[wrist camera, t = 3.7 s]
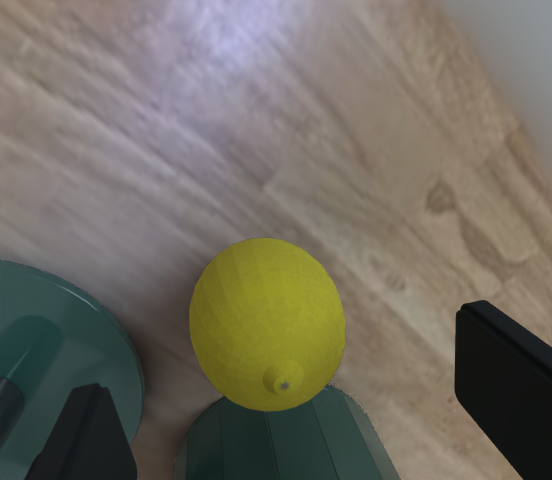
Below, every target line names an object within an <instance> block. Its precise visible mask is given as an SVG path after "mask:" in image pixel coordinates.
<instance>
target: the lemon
mask: <svg viewBox="0 0 552 480" xmlns="http://www.w3.org/2000/svg"><path fill="white" fill-rule="evenodd" d="M189 320H190V336H191V341H192V345H193V348H194V350H195V353H196V356H197V359H198V362H199V364H200V367H201V369H202V370H203V372H204V374H205V375H206V376H207V378H208V379H209V380H210V382H211V383H212V385H213V386H214V387H215V388H216V389H217V390H218V391H219V392H220V393H221V394H223V395H224V396H225V397H227V398H228V399H229V400H231V401H232V402H234V403H236V404H239V405H241V406H243V407H246V408H248V409H254V410H259V411H282V410H286V409H290V408H294V407H296V406H298V405H301V404H303V403H305V402H307V401H309V400H310V399H311V398H313V397H314V396H315V395H316V394H318V393H319V392H320V391H321V390H323V388H324V387H325V386H326V385H327V384H328V382H329V381H330V380H331V379H332V378H333V376H334V374H335V372H336V370H337V368H338V366H339V364H340V362H341V359H342V355H343V351H344V346H345V340H346V335H345V316H344V310H343V307H342V304H341V301H340V298H339V295H338V292H337V289H336V287H335V284H334V282H333V281H332V279H331V278H330V276H329V275H328V274H327V272H326V271H325V269H324V268H323V266H322V265H321V264H320V263H319V262H318V261H317V260H316V259H315V258H313V257H312V256H311V255H310V254H308V253H307V252H306V251H305V250H303V249H302V248H300V247H298V246H295V245H293V244H291V243H289V242H286V241H284V240H278V239H272V238H255V239H248V240H245V241H242V242H239V243H236V244H233V245H231V246H230V247H228V248H227V249H225V250H223V251H222V252H220V253H219V254H218V255H217V256H216V257H215V258H214V259H213V260H212V261H211V262H210V263H209V264H208V265H207V266H206V267H205V269H204V271H203V273H202V275H201V276H200V278H199V280H198V282H197V284H196V285H195V288H194V292H193V296H192V300H191V304H190V310H189Z"/></svg>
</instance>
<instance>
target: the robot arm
mask: <svg viewBox="0 0 552 480" xmlns="http://www.w3.org/2000/svg"><path fill="white" fill-rule="evenodd" d="M454 388H455V394H456V397H457V399H458V401H459V403H460V404H461V405H462V406H463V408H464V409H465V410H466V411H467V412H468V414H469V415H470V416H471V417H472V418H473V420H474V421H475V422H476V423H477V424H478V426H479V427H480V428H481V429H482V430H483V432H484V433H485V434H486V435H487V436H488V438H489V439H490V440H491V441H492V442H493V444H494V445H495V446H496V447H497V448H498V450H499V451H500V452H501V453H502V454H503V456H504V457H505V458H506V459H507V460H508V462H509V463H510V464H511V465H512V466H513V468H514V469H515V470H516V471H517V472H518V474H519V475H520V476H521V477H522V478H523V480H552V347H551V346H549V345H548V344H546V343H545V342H544V341H542V340H541V339H539V338H538V337H537V336H535V335H534V334H532V333H531V332H530V331H528V330H527V329H525V328H524V327H523V326H521V325H520V324H519V323H517V322H516V321H514V320H513V319H512V318H510V317H509V316H507V315H506V314H505V313H503V312H502V311H500V310H499V309H498V308H496V307H495V306H493V305H492V304H491V303H489V302H488V301H486V300H480V301H476V302H471V303H466V304H463V305H462V306H461V309H460V311H457V313H456V334H455V387H454ZM24 480H137V467H136V463H135V460H134V458H133V455H132V452H131V449H130V446H129V443H128V441H127V438H126V435H125V432H124V429H123V427H122V424H121V421H120V418H119V415H118V413H117V410H116V407H115V404H114V401H113V398H112V396H111V393H110V390H109V389H108V387H103V388H102V387H101V385H100V384H99V383H94V384H89V385H85V386H80V387H75V388H73V389H72V391H71V392H70V394H69V396H68V398H67V400H66V402H65V404H64V407H63V409H62V411H61V413H60V415H59V417H58V419H57V421H56V423H55V425H54V427H53V429H52V431H51V434H50V436H49V438H48V440H47V442H46V444H45V446H44V448H43V450H42V452H41V453H40V454H38V455H37V456H36V458H35V459H34V461H33V463H32V465H31V467H30V469H29V471H28V473H27V475H26V477H25V479H24Z"/></svg>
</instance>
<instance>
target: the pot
mask: <svg viewBox="0 0 552 480" xmlns="http://www.w3.org/2000/svg"><path fill="white" fill-rule="evenodd" d="M172 480H401V479H400V477H399V475H398V473H397V471H396V469H395V467H394V465H393V464H392V462H391V460H390V458H389V456H388V454H387V452H386V450H385V448H384V446H383V444H382V443H381V441H380V439H379V437H378V435H377V433H376V431H375V429H374V427H373V425H372V423H371V421H370V420H369V418H368V416H367V415H366V414H365V413H364V412H363V411H362V409H361V408H360V406H359V405H358V404H357V403H356V402H355V401H354V400H353V399H352V398H350V397H349V396H347V395H346V394H345V393H343V392H342V391H340V390H338V389H336V388H334V387H332V386H329V385H326V386H325V387H324V388H323V390H321V391H320V392H319V393H318V394H316V395H315V396H314V397H313V398H311V399H310V400H309V401H307V402H305V403H303V404H301V405H298V406H296V407H294V408H290V409H286V410H282V411H259V410H254V409H248V408H246V407H243V406H241V405H239V404H236V403H234V402H232V401H231V400H229V399H228V398H227V397H224V398H222V399H221V400H219V401H218V402H216V403H215V404H213V405H212V406H211V407H210V408H208V409H207V410H206V411H205V412H204V413H203V414H202V415H201V416H200V417H199V418H198V419H197V420H196V421H195V422H194V423H193V425H192V426H191V428H190V429H189V430H188V432H187V433H186V435H185V437H184V439H183V441H182V442H181V445H180V447H179V450H178V453H177V457H176V462H175V464H174V466H173V473H172Z"/></svg>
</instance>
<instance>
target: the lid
mask: <svg viewBox="0 0 552 480" xmlns="http://www.w3.org/2000/svg"><path fill="white" fill-rule="evenodd" d="M94 383H99V384H100V385H101V387H102V388H103V387H108V389H109V390H110V393H111V396H112V398H113V401H114V404H115V407H116V410H117V413H118V415H119V418H120V421H121V424H122V427H123V429H124V432H125V435H126V438H127V441H128V443H129V446H130V445H131V443H132V441H133V439H134V437H135V435H136V433H137V430H138V427H139V424H140V421H141V417H142V412H143V406H144V400H145V380H144V374H143V369H142V365H141V362H140V359H139V356H138V353H137V351H136V349H135V347H134V345H133V343H132V341H131V339H130V337H129V336H128V334H127V333H126V331H125V330H124V329H123V327H122V326H121V324H120V323H119V322H118V321H117V320H116V319H115V317H114V316H113V315H112V314H111V313H110V312H109V311H108V310H107V309H106V308H105V307H104V306H102V305H101V304H100V303H99V302H98V301H96V300H95V299H94V298H93V297H92V296H90V295H89V294H87V293H86V292H84V291H82V290H81V289H79V288H78V287H76V286H75V285H73V284H71V283H69V282H67V281H65V280H63V279H61V278H59V277H57V276H55V275H52V274H50V273H47V272H44V271H41V270H39V269H36V268H33V267H29V266H25V265H21V264H17V263H13V262H8V261H1V260H0V480H24V479H25V477H26V475H27V473H28V471H29V469H30V467H31V465H32V463H33V461H34V459H35V458H36V456H37V455H38V454H40V453H41V452H42V450H43V448H44V446H45V444H46V442H47V440H48V438H49V436H50V434H51V431H52V429H53V427H54V425H55V423H56V421H57V419H58V417H59V415H60V413H61V411H62V409H63V407H64V404H65V402H66V400H67V398H68V396H69V394H70V392H71V391H72V389H73V388H75V387H80V386H85V385H89V384H94Z"/></svg>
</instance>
